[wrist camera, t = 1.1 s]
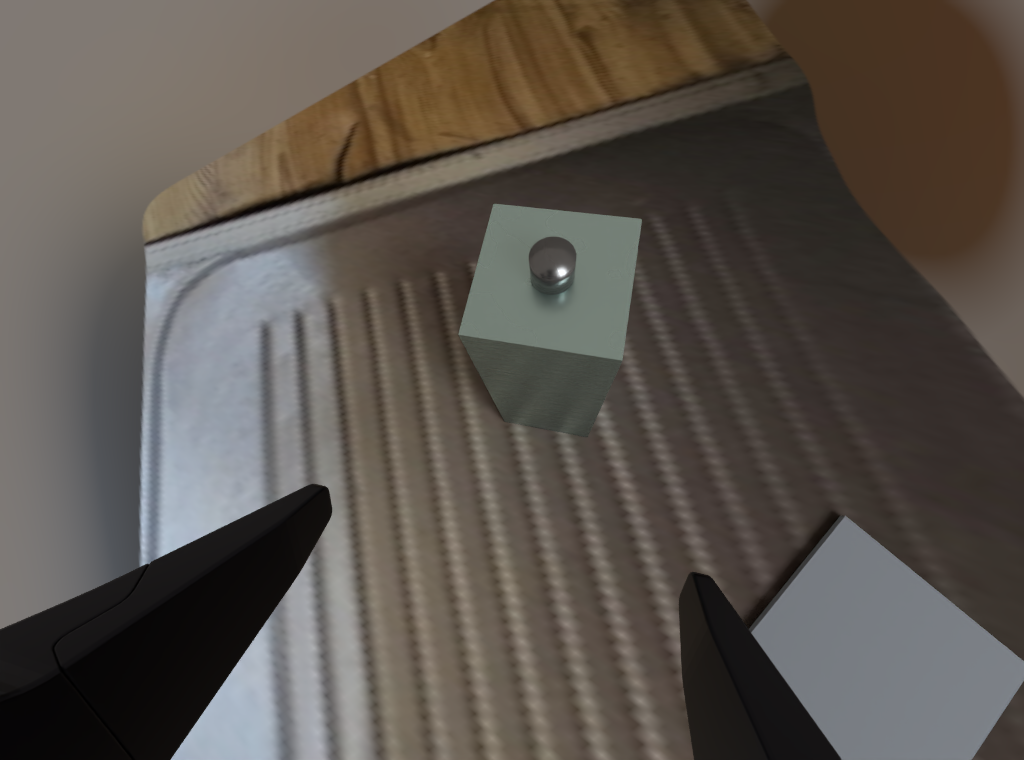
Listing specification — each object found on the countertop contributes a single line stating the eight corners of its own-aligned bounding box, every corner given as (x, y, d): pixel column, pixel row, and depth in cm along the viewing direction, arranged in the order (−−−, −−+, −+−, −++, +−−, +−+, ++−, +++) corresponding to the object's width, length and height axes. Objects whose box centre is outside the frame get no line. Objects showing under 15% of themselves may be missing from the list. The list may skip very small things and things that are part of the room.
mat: (910, 832, 17) (918, 838, 17) (731, 650, 20) (734, 653, 19) (1021, 664, 18) (1032, 668, 18) (840, 515, 21) (845, 515, 21)
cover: (587, 437, 24) (628, 347, 11) (504, 421, 24) (450, 320, 12) (599, 358, 25) (648, 196, 12) (521, 346, 26) (489, 181, 13)
